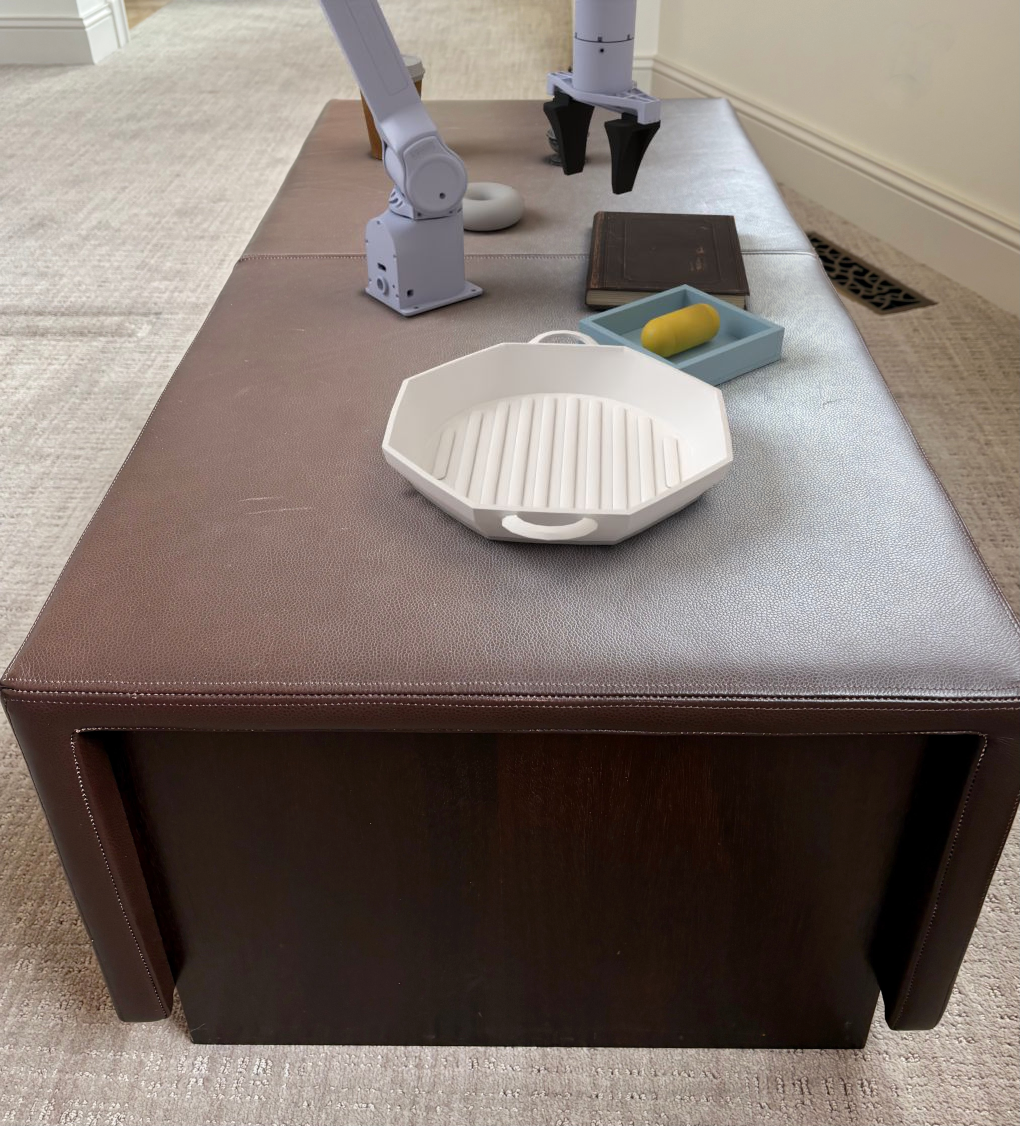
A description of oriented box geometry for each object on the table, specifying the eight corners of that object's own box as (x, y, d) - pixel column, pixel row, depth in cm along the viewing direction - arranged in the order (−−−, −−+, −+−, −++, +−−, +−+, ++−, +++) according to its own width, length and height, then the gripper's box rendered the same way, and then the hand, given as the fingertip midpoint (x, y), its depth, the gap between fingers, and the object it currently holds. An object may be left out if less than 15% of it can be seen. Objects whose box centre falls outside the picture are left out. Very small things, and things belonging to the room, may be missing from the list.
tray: (672, 403, 91) (676, 370, 89) (577, 351, 99) (578, 320, 97) (780, 359, 97) (785, 327, 96) (682, 313, 105) (685, 284, 104)
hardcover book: (731, 235, 123) (733, 215, 122) (746, 315, 105) (750, 292, 103) (592, 230, 124) (593, 210, 123) (583, 309, 106) (584, 286, 104)
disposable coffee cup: (350, 149, 150) (342, 57, 143) (412, 140, 153) (407, 49, 146) (376, 168, 143) (368, 72, 136) (440, 157, 147) (436, 63, 139)
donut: (521, 237, 123) (528, 206, 131) (521, 208, 121) (528, 178, 128) (435, 234, 124) (447, 204, 131) (433, 205, 121) (446, 176, 129)
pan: (422, 369, 96) (419, 323, 93) (707, 378, 95) (712, 332, 92) (357, 580, 71) (351, 527, 69) (741, 597, 70) (750, 543, 67)
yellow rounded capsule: (658, 368, 95) (661, 330, 93) (631, 355, 97) (633, 317, 95) (726, 342, 99) (730, 306, 97) (698, 330, 101) (702, 294, 99)
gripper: (689, 43, 98) (675, 192, 106) (586, 19, 107) (581, 158, 115) (632, 54, 94) (623, 207, 103) (531, 28, 104) (529, 170, 112)
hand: (597, 182), depth 109 cm, fingers open, 7 cm apart
